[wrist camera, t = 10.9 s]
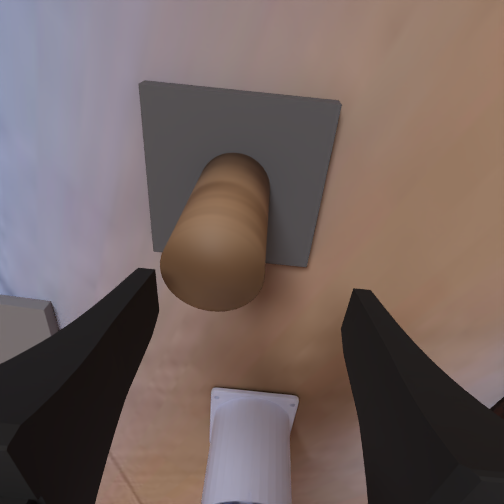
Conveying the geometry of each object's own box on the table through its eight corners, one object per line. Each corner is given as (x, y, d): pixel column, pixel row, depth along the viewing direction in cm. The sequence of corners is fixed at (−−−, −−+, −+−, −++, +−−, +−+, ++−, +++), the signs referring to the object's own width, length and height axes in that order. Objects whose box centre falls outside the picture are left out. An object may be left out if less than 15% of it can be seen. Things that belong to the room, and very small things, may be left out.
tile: (54, 296, 28) (70, 361, 32) (-23, 286, 28) (4, 353, 32) (43, 309, 27) (62, 375, 31) (-37, 299, 27) (-6, 366, 31)
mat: (305, 258, 24) (306, 267, 23) (157, 243, 24) (153, 251, 23) (338, 100, 18) (341, 104, 17) (145, 80, 18) (138, 83, 17)
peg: (265, 221, 21) (259, 316, 15) (199, 214, 21) (162, 305, 15) (274, 157, 19) (270, 234, 12) (200, 148, 19) (157, 221, 12)
